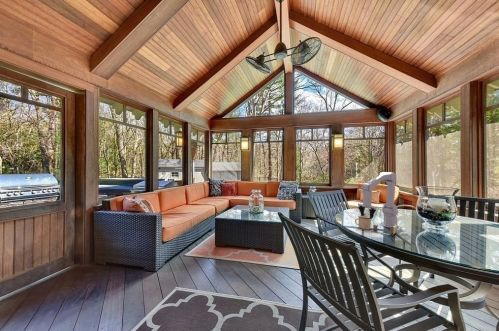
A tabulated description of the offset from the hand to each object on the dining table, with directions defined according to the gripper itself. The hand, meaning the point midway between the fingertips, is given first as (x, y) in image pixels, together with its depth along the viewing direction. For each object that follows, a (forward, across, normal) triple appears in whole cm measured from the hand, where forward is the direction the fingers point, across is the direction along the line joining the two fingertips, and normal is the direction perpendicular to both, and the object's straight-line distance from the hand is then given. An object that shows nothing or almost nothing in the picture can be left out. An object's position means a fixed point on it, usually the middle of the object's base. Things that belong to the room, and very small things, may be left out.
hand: (366, 217), depth 179 cm
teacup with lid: (+10, -6, +4) cm, 13 cm away
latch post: (+10, +4, +4) cm, 12 cm away
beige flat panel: (+10, +13, +13) cm, 21 cm away
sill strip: (+10, +8, +6) cm, 14 cm away
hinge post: (+10, +16, +6) cm, 20 cm away
